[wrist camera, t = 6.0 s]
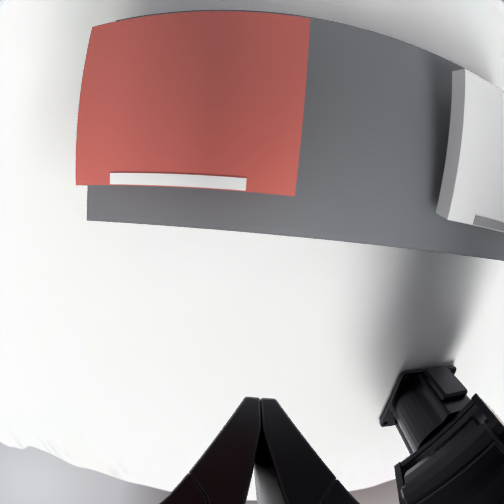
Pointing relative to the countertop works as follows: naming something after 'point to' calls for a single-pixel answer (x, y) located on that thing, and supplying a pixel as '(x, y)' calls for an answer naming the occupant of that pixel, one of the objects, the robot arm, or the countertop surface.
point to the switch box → (340, 157)
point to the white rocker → (474, 154)
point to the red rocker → (194, 102)
